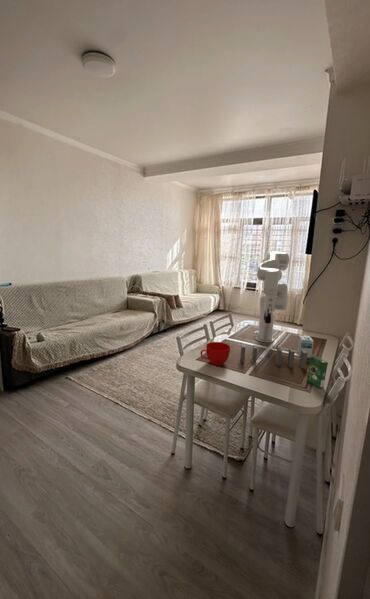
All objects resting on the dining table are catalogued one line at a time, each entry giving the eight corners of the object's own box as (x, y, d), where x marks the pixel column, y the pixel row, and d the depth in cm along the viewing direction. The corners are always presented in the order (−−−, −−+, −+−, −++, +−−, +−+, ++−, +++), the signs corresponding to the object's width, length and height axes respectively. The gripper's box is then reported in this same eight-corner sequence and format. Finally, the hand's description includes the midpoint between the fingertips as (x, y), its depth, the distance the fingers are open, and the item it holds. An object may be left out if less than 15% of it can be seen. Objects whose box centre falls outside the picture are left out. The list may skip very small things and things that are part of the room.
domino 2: (252, 363, 156) (253, 348, 155) (251, 359, 161) (253, 344, 160) (256, 363, 156) (257, 348, 154) (255, 360, 161) (256, 345, 159)
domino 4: (276, 365, 155) (278, 350, 153) (275, 362, 159) (276, 347, 158) (280, 366, 154) (282, 350, 153) (278, 362, 159) (280, 347, 157)
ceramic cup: (194, 361, 156) (195, 343, 154) (221, 357, 163) (222, 340, 161) (205, 370, 145) (206, 352, 143) (233, 366, 151) (234, 349, 149)
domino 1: (240, 362, 157) (241, 346, 156) (240, 358, 162) (241, 343, 161) (244, 362, 157) (245, 347, 155) (243, 359, 162) (245, 344, 160)
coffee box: (324, 387, 132) (328, 361, 130) (320, 388, 131) (324, 362, 129) (311, 380, 140) (314, 355, 137) (306, 380, 139) (310, 355, 136)
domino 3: (265, 327, 165) (266, 312, 164) (264, 324, 170) (265, 310, 168) (268, 327, 165) (270, 312, 163) (267, 325, 170) (269, 310, 168)
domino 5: (288, 367, 154) (290, 351, 152) (287, 363, 158) (289, 348, 157) (292, 367, 153) (294, 352, 152) (290, 363, 158) (292, 348, 156)
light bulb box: (311, 358, 168) (314, 341, 165) (299, 357, 169) (302, 339, 167) (307, 351, 178) (310, 335, 176) (296, 350, 179) (298, 334, 177)
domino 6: (301, 368, 153) (303, 352, 151) (299, 364, 158) (301, 349, 156) (305, 368, 152) (307, 353, 151) (303, 365, 157) (305, 349, 155)
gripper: (279, 294, 154) (275, 326, 158) (274, 289, 171) (271, 318, 175) (265, 293, 156) (262, 325, 159) (262, 288, 172) (259, 317, 176)
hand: (267, 321), depth 167 cm, fingers closed on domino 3, 4 cm apart
